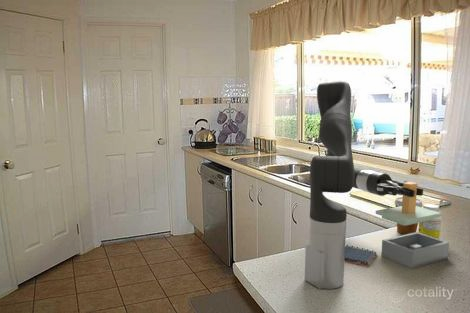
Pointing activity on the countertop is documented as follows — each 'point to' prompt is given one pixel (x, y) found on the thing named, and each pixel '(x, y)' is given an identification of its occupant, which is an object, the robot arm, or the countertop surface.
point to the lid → (408, 210)
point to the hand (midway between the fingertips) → (417, 193)
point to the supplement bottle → (431, 223)
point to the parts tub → (415, 249)
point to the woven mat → (359, 256)
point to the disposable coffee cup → (407, 228)
